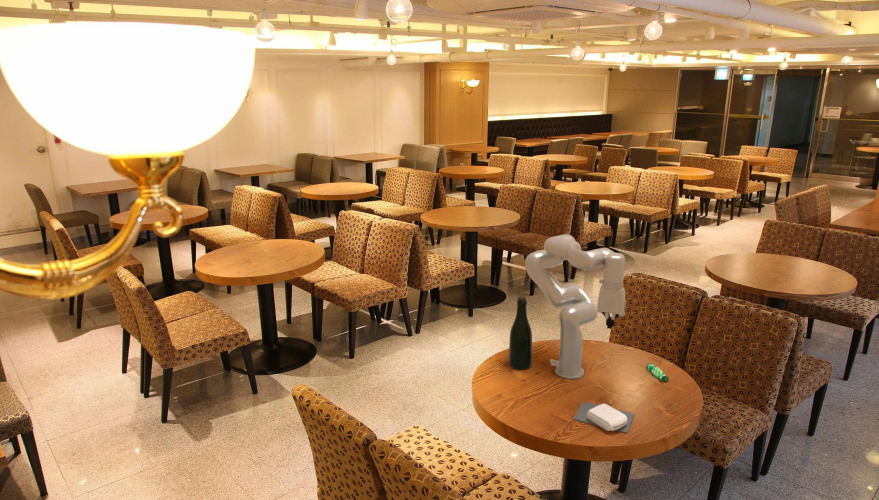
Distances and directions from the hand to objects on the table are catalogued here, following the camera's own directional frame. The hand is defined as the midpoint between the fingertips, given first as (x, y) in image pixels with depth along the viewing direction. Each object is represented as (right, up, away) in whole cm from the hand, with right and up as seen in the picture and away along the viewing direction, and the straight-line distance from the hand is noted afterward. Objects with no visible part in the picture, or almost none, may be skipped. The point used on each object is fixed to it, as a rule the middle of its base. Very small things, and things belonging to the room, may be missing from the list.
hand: (609, 327), depth 235 cm
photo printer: (-8, -31, -10) cm, 33 cm away
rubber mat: (-5, -33, -10) cm, 35 cm away
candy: (+27, -24, +21) cm, 42 cm away
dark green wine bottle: (-31, -22, +32) cm, 50 cm away
